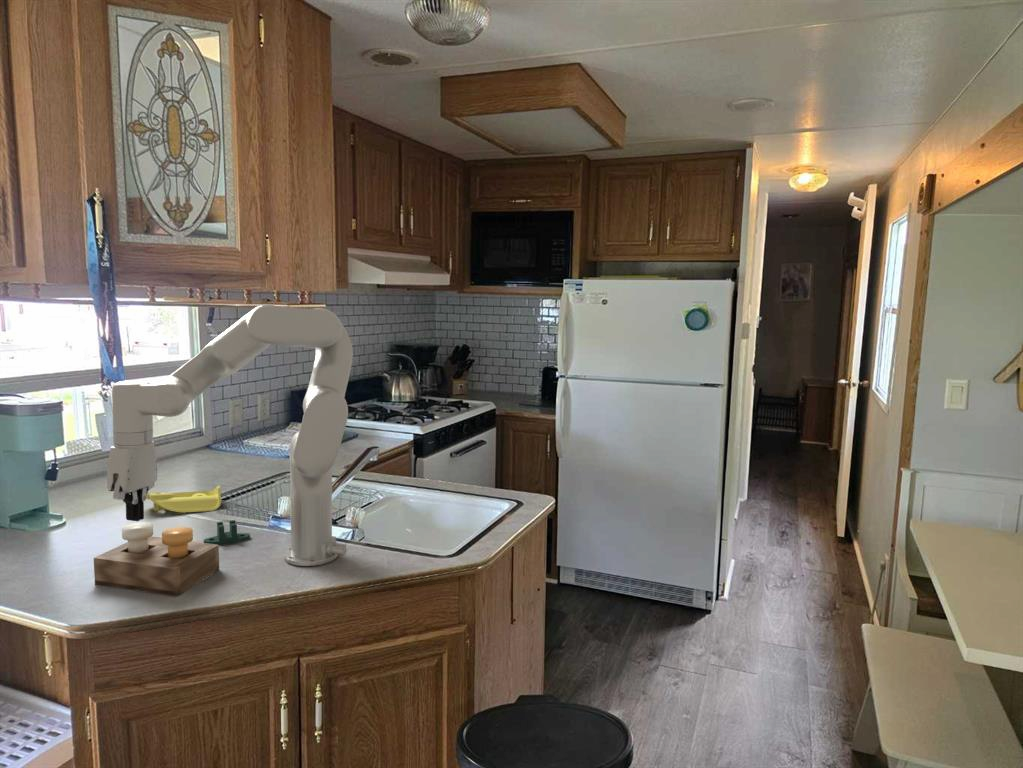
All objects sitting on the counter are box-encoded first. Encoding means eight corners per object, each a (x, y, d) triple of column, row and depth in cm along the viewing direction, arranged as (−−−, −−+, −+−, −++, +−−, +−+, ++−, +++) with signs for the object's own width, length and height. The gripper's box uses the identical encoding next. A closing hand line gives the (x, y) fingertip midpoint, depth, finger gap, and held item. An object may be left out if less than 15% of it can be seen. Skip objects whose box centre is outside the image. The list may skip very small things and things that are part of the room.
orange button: (199, 554, 149) (198, 528, 148) (180, 564, 143) (180, 538, 142) (175, 551, 150) (174, 525, 149) (156, 561, 144) (155, 534, 143)
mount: (204, 548, 166) (203, 528, 165) (202, 542, 170) (202, 523, 169) (251, 541, 171) (251, 523, 170) (248, 536, 175) (248, 517, 174)
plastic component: (214, 490, 204) (220, 484, 196) (215, 515, 201) (221, 509, 194) (140, 495, 193) (143, 488, 185) (140, 520, 191) (143, 515, 183)
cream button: (160, 549, 151) (159, 523, 150) (140, 559, 145) (139, 533, 144) (137, 546, 152) (135, 521, 151) (116, 556, 146) (115, 530, 145)
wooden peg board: (219, 569, 153) (218, 544, 152) (176, 596, 139) (176, 568, 139) (143, 559, 157) (142, 535, 156) (94, 584, 143) (93, 557, 143)
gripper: (143, 430, 153) (145, 507, 155) (90, 443, 138) (92, 528, 141) (172, 433, 151) (173, 511, 154) (121, 446, 137) (123, 532, 139)
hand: (135, 519), depth 147 cm, fingers closed
